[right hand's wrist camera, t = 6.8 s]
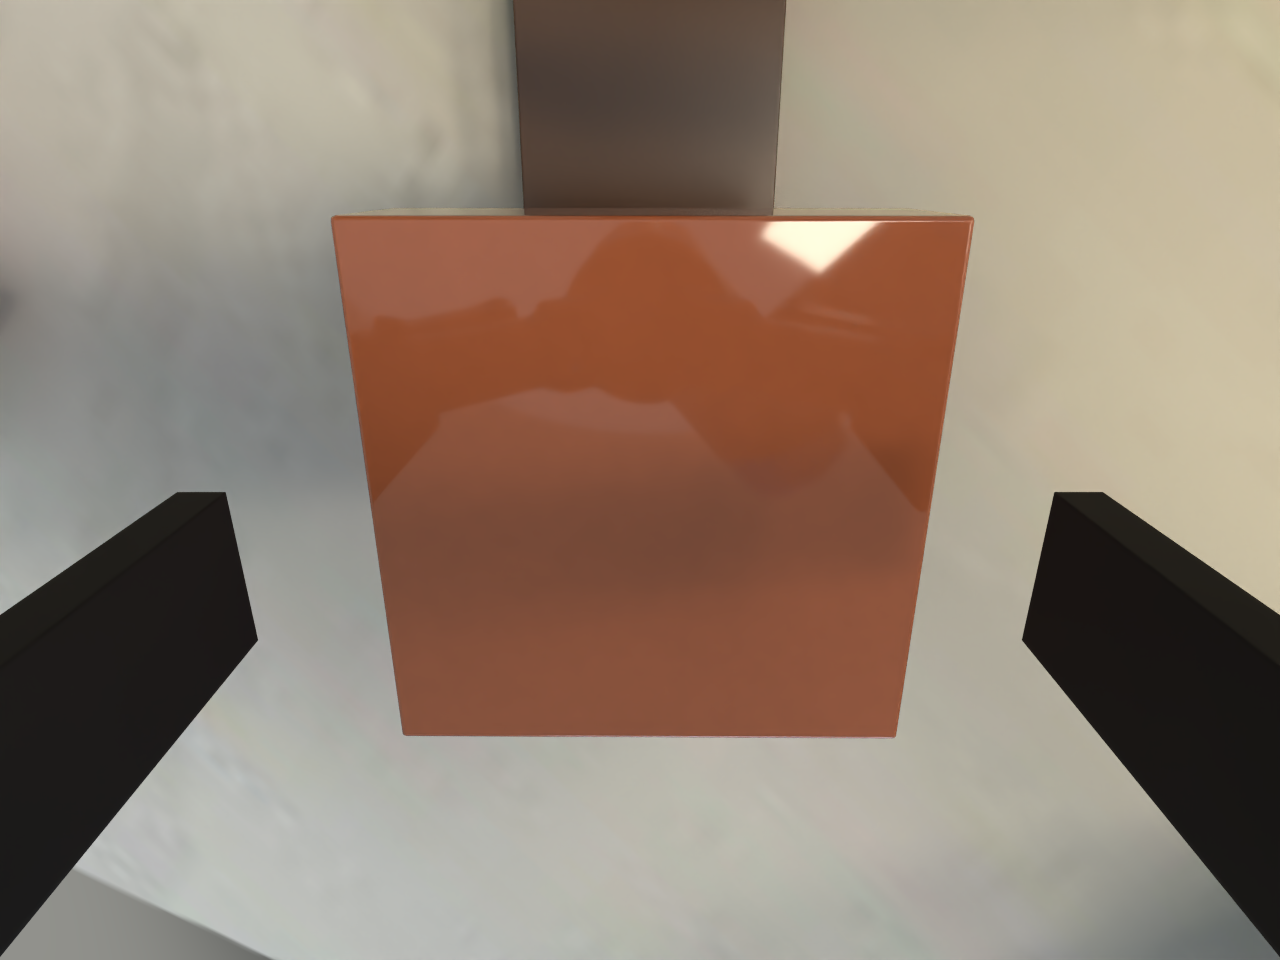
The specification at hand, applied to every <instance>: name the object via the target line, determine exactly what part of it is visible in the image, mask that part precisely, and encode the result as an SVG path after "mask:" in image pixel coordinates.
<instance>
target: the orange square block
mask: <svg viewBox="0 0 1280 960" xmlns="http://www.w3.org/2000/svg"><path fill="white" fill-rule="evenodd" d="M331 226H332V233H333V240H334V247H335V254H336V261H337V268H338V276H339V283H340V290H341V297H342V304H343V311H344V318H345V325H346V333H347V340H348V347H349V354H350V361H351V368H352V375H353V382H354V389H355V397H356V404H357V411H358V418H359V425H360V432H361V439H362V446H363V454H364V461H365V468H366V475H367V482H368V489H369V496H370V503H371V510H372V518H373V525H374V532H375V539H376V546H377V553H378V560H379V567H380V575H381V582H382V589H383V596H384V603H385V610H386V617H387V624H388V632H389V639H390V646H391V653H392V660H393V667H394V674H395V681H396V688H397V696H398V703H399V710H400V717H401V724H402V731H403V734H404V735H405V736H540V737H734V738H895V736H896V731H897V725H898V718H899V712H900V705H901V699H902V692H903V686H904V679H905V672H906V666H907V659H908V653H909V646H910V640H911V633H912V626H913V620H914V613H915V607H916V600H917V594H918V587H919V580H920V574H921V567H922V561H923V554H924V548H925V541H926V535H927V528H928V521H929V515H930V508H931V502H932V495H933V489H934V482H935V475H936V469H937V462H938V456H939V449H940V443H941V436H942V430H943V423H944V416H945V410H946V403H947V397H948V390H949V384H950V377H951V370H952V364H953V357H954V351H955V344H956V338H957V331H958V325H959V318H960V311H961V305H962V298H963V292H964V285H965V279H966V272H967V265H968V259H969V252H970V246H971V239H972V233H973V226H974V218H973V217H971V216H969V215H961V214H952V213H944V212H935V211H927V210H918V209H910V208H390V209H382V210H374V211H366V212H358V213H349V214H341V215H335V216H333V217H332V218H331Z"/></svg>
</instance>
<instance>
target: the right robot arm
mask: <svg viewBox="0 0 1280 960" xmlns="http://www.w3.org/2000/svg"><path fill="white" fill-rule="evenodd" d="M257 641H258V638H257V633H256V629H255V624H254V619H253V615H252V610H251V606H250V601H249V597H248V592H247V588H246V583H245V579H244V574H243V569H242V565H241V560H240V556H239V551H238V547H237V542H236V538H235V533H234V528H233V524H232V519H231V515H230V510H229V506H228V501H227V497H226V492H177V493H175V494H174V495H172V496H171V497H170V498H168V499H167V500H165V501H164V502H162V503H161V504H160V505H158V506H157V507H155V508H154V509H152V510H151V511H149V512H148V513H147V514H145V515H144V516H142V517H141V518H139V519H138V520H136V521H135V522H134V523H132V524H131V525H129V526H128V527H126V528H125V529H123V530H122V531H121V532H119V533H118V534H116V535H115V536H113V537H112V538H111V539H109V540H108V541H106V542H105V543H103V544H102V545H100V546H99V547H98V548H96V549H95V550H93V551H92V552H90V553H89V554H87V555H86V556H85V557H83V558H82V559H80V560H79V561H77V562H76V563H75V564H73V565H72V566H70V567H69V568H67V569H66V570H64V571H63V572H62V573H60V574H59V575H57V576H56V577H54V578H53V579H51V580H50V581H49V582H47V583H46V584H44V585H43V586H41V587H40V588H38V589H37V590H36V591H34V592H33V593H31V594H30V595H28V596H27V597H26V598H24V599H23V600H21V601H20V602H18V603H17V604H15V605H14V606H13V607H11V608H10V609H8V610H7V611H5V612H4V613H2V614H1V615H0V956H1V955H2V954H3V953H4V951H5V950H6V949H7V948H8V947H9V945H10V944H11V943H12V942H13V940H14V939H15V938H16V937H17V936H18V934H19V933H20V932H21V931H22V929H23V928H24V927H25V926H26V924H27V923H28V922H29V921H30V920H31V918H32V917H33V916H34V915H35V913H36V912H37V911H38V910H39V908H40V907H41V906H42V905H43V904H44V902H45V901H46V900H47V899H48V897H49V896H50V895H51V894H52V893H53V891H54V890H55V889H56V888H57V886H58V885H59V884H60V883H61V881H62V880H63V879H64V878H65V876H66V875H67V874H68V873H69V872H70V870H71V869H72V868H73V867H74V865H75V864H76V863H77V862H78V861H79V859H80V858H81V857H82V856H83V854H84V853H85V852H86V851H87V850H88V848H89V847H90V846H91V845H92V843H93V842H94V841H95V840H96V838H97V837H98V836H99V835H100V834H101V832H102V831H103V830H104V829H105V827H106V826H107V825H108V824H109V823H110V821H111V820H112V819H113V818H114V816H115V815H116V814H117V813H118V811H119V810H120V809H121V808H122V807H123V805H124V804H125V803H126V802H127V800H128V799H129V798H130V797H131V795H132V794H133V793H134V792H135V791H136V789H137V788H138V787H139V786H140V784H141V783H142V782H143V781H144V780H145V778H146V777H147V776H148V775H149V773H150V772H151V771H152V770H153V768H154V767H155V766H156V765H157V764H158V762H159V761H160V760H161V759H162V757H163V756H164V755H165V754H166V753H167V751H168V750H169V749H170V748H171V746H172V745H173V744H174V743H175V741H176V740H177V739H178V738H179V737H180V735H181V734H182V733H183V732H184V730H185V729H186V728H187V727H188V725H189V724H190V723H191V722H192V721H193V719H194V718H195V717H196V716H197V714H198V713H199V712H200V711H201V710H202V708H203V707H204V706H205V705H206V703H207V702H208V701H209V700H210V698H211V697H212V696H213V695H214V694H215V692H216V691H217V690H218V689H219V687H220V686H221V685H222V684H223V682H224V681H225V680H226V679H227V678H228V676H229V675H230V674H231V673H232V671H233V670H234V669H235V668H236V667H237V665H238V664H239V663H240V662H241V660H242V659H243V658H244V657H245V655H246V654H247V653H248V652H249V651H250V649H251V648H252V647H253V646H254V644H255V643H256V642H257ZM1022 641H1023V642H1024V643H1025V644H1026V646H1027V647H1028V648H1029V649H1030V651H1031V652H1032V653H1033V654H1034V655H1035V657H1036V658H1037V659H1038V660H1039V662H1040V663H1041V664H1042V665H1043V667H1044V668H1045V669H1046V670H1047V671H1048V673H1049V674H1050V675H1051V676H1052V678H1053V679H1054V680H1055V681H1056V683H1057V684H1058V685H1059V686H1060V687H1061V689H1062V690H1063V691H1064V692H1065V694H1066V695H1067V696H1068V697H1069V698H1070V700H1071V701H1072V702H1073V703H1074V705H1075V706H1076V707H1077V708H1078V710H1079V711H1080V712H1081V713H1082V714H1083V716H1084V717H1085V718H1086V719H1087V721H1088V722H1089V723H1090V724H1091V725H1092V727H1093V728H1094V729H1095V730H1096V732H1097V733H1098V734H1099V735H1100V737H1101V738H1102V739H1103V740H1104V741H1105V743H1106V744H1107V745H1108V746H1109V748H1110V749H1111V750H1112V751H1113V753H1114V754H1115V755H1116V756H1117V757H1118V759H1119V760H1120V761H1121V762H1122V764H1123V765H1124V766H1125V767H1126V768H1127V770H1128V771H1129V772H1130V773H1131V775H1132V776H1133V777H1134V778H1135V780H1136V781H1137V782H1138V783H1139V784H1140V786H1141V787H1142V788H1143V789H1144V791H1145V792H1146V793H1147V794H1148V795H1149V797H1150V798H1151V799H1152V800H1153V802H1154V803H1155V804H1156V805H1157V807H1158V808H1159V809H1160V810H1161V811H1162V813H1163V814H1164V815H1165V816H1166V818H1167V819H1168V820H1169V821H1170V823H1171V824H1172V825H1173V826H1174V827H1175V829H1176V830H1177V831H1178V832H1179V834H1180V835H1181V836H1182V837H1183V838H1184V840H1185V841H1186V842H1187V843H1188V845H1189V846H1190V847H1191V848H1192V850H1193V851H1194V852H1195V853H1196V854H1197V856H1198V857H1199V858H1200V859H1201V861H1202V862H1203V863H1204V864H1205V865H1206V867H1207V868H1208V869H1209V870H1210V872H1211V873H1212V874H1213V875H1214V877H1215V878H1216V879H1217V880H1218V881H1219V883H1220V884H1221V885H1222V886H1223V888H1224V889H1225V890H1226V891H1227V893H1228V894H1229V895H1230V896H1231V897H1232V899H1233V900H1234V901H1235V902H1236V904H1237V905H1238V906H1239V907H1240V908H1241V910H1242V911H1243V912H1244V913H1245V915H1246V916H1247V917H1248V918H1249V920H1250V921H1251V922H1252V923H1253V924H1254V926H1255V927H1256V928H1257V929H1258V931H1259V932H1260V933H1261V934H1262V936H1263V937H1264V938H1265V939H1266V940H1267V942H1268V943H1269V944H1270V945H1271V947H1272V948H1273V949H1274V950H1275V951H1276V953H1277V954H1278V955H1279V956H1280V615H1279V614H1278V613H1276V612H1275V611H1273V610H1272V609H1270V608H1269V607H1267V606H1266V605H1265V604H1263V603H1262V602H1260V601H1259V600H1257V599H1256V598H1254V597H1253V596H1252V595H1250V594H1249V593H1247V592H1246V591H1244V590H1243V589H1242V588H1240V587H1239V586H1237V585H1236V584H1234V583H1233V582H1231V581H1230V580H1229V579H1227V578H1226V577H1224V576H1223V575H1221V574H1220V573H1218V572H1217V571H1216V570H1214V569H1213V568H1211V567H1210V566H1208V565H1207V564H1205V563H1204V562H1203V561H1201V560H1200V559H1198V558H1197V557H1195V556H1194V555H1193V554H1191V553H1190V552H1188V551H1187V550H1185V549H1184V548H1182V547H1181V546H1180V545H1178V544H1177V543H1175V542H1174V541H1172V540H1171V539H1169V538H1168V537H1167V536H1165V535H1164V534H1162V533H1161V532H1159V531H1158V530H1157V529H1155V528H1154V527H1152V526H1151V525H1149V524H1148V523H1146V522H1145V521H1144V520H1142V519H1141V518H1139V517H1138V516H1136V515H1135V514H1133V513H1132V512H1131V511H1129V510H1128V509H1126V508H1125V507H1123V506H1122V505H1120V504H1119V503H1118V502H1116V501H1115V500H1113V499H1112V498H1110V497H1109V496H1108V495H1106V494H1105V493H1103V492H1054V497H1053V501H1052V506H1051V510H1050V515H1049V519H1048V524H1047V528H1046V533H1045V538H1044V542H1043V547H1042V551H1041V556H1040V560H1039V565H1038V569H1037V574H1036V579H1035V583H1034V588H1033V592H1032V597H1031V601H1030V606H1029V610H1028V615H1027V619H1026V624H1025V629H1024V633H1023V638H1022Z"/></svg>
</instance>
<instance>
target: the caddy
mask: <svg viewBox="0 0 1280 960" xmlns="http://www.w3.org/2000/svg"><path fill="white" fill-rule="evenodd" d="M513 9H514V28H515V47H516V66H517V85H518V104H519V123H520V143H521V162H522V181H523V200H524V208H774V194H775V177H776V161H777V144H778V128H779V111H780V95H781V78H782V62H783V45H784V29H785V12H786V0H513Z"/></svg>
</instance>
